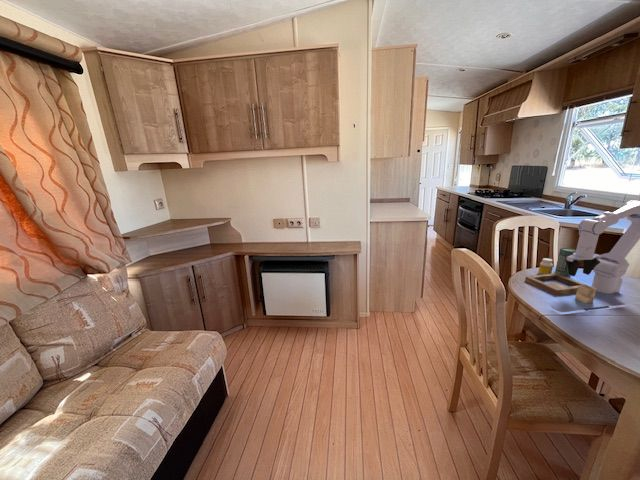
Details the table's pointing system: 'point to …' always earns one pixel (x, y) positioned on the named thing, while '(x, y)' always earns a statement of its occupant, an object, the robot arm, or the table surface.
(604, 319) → the table surface
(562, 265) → the can
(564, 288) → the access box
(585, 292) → the beech block
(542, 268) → the supplement bottle
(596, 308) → the place mat
